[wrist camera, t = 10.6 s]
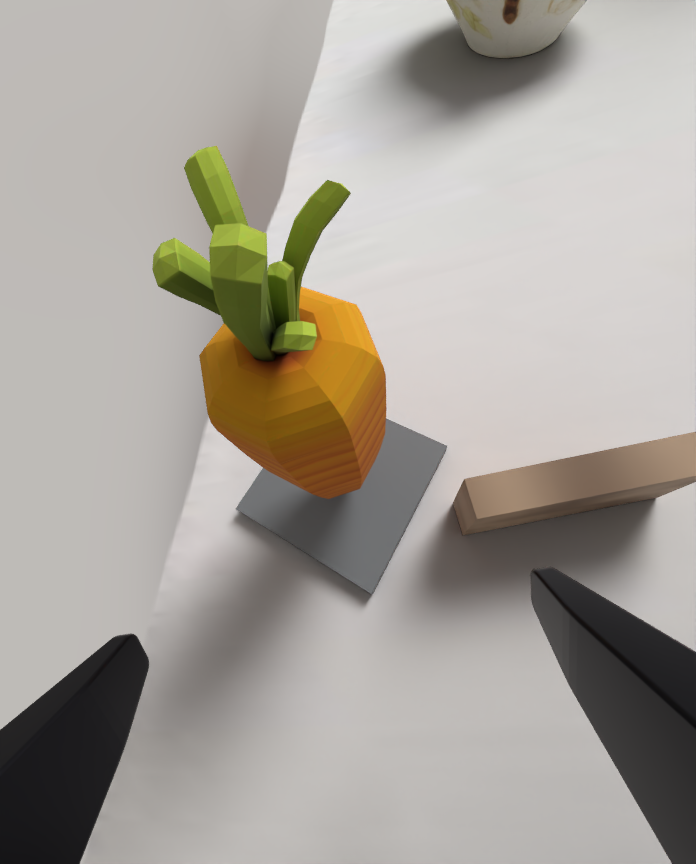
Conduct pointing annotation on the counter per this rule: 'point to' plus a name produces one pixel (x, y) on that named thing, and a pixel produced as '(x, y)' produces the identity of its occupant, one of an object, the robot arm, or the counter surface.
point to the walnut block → (576, 484)
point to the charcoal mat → (352, 508)
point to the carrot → (279, 342)
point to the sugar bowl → (512, 24)
